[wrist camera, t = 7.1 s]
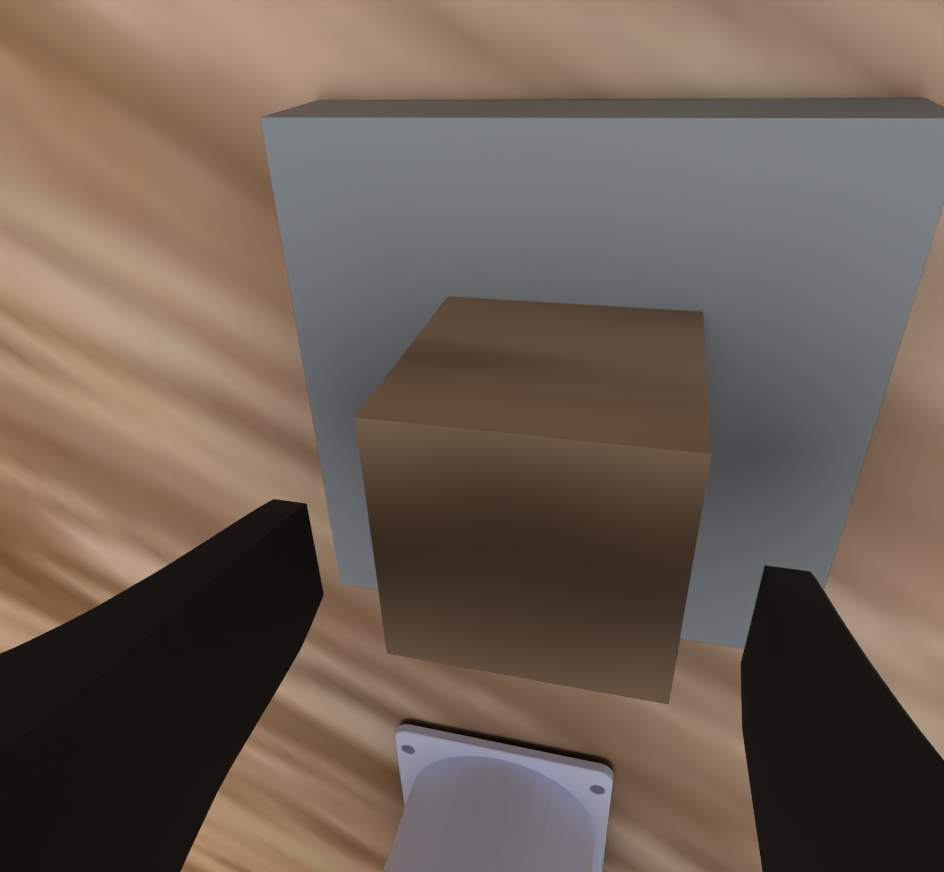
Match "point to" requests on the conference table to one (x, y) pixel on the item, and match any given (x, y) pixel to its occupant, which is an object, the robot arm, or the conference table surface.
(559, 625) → the walnut cube
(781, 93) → the conference table surface
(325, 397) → the base slab
